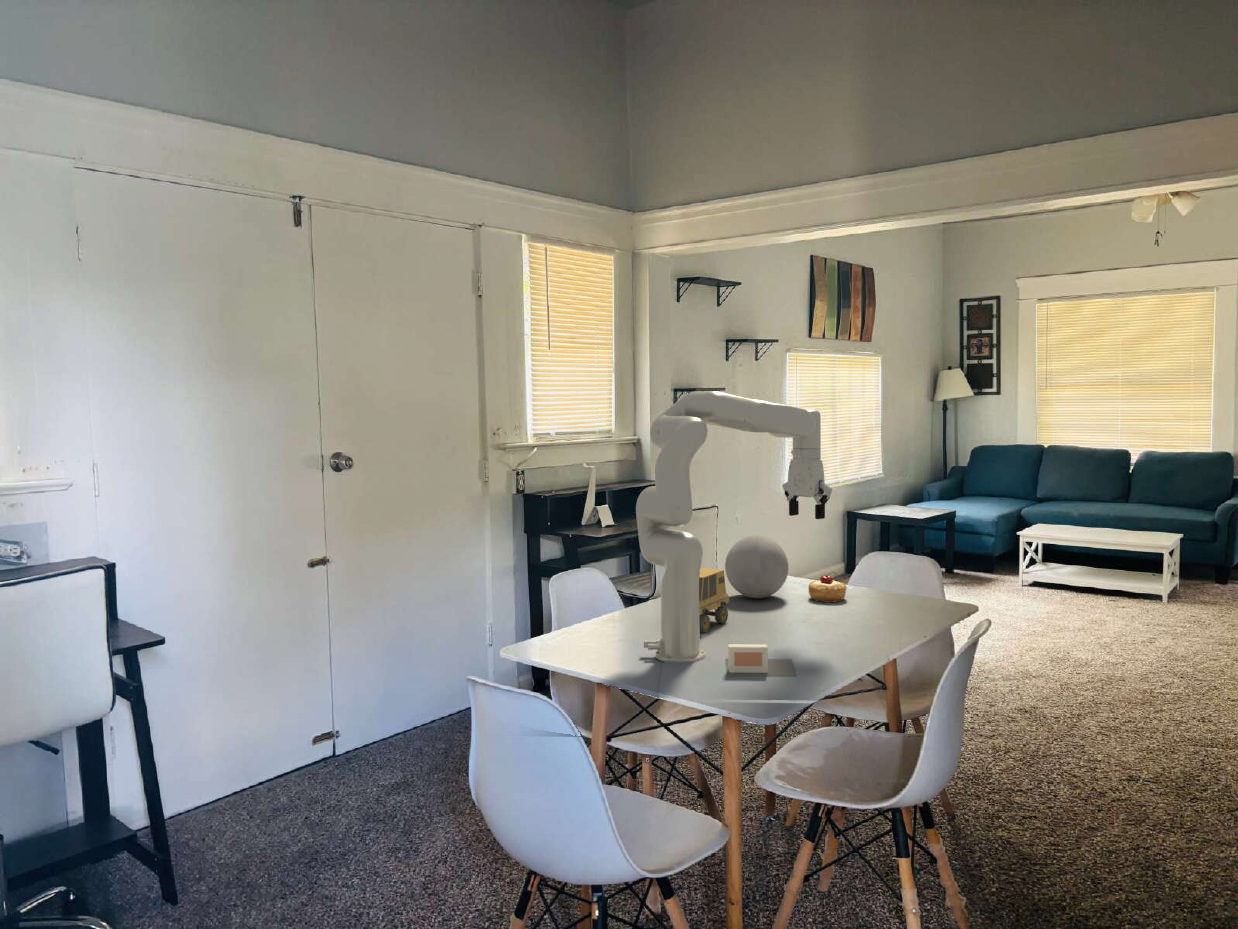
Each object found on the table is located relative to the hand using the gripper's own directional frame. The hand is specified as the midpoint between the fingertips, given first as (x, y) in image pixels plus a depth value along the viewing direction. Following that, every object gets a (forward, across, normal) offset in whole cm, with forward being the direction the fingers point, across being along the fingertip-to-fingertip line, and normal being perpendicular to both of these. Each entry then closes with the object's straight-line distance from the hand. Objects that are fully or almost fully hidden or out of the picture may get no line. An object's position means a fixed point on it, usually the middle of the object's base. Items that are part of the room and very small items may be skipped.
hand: (806, 516), depth 255 cm
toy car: (+32, -21, -20) cm, 43 cm away
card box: (+31, +20, -41) cm, 55 cm away
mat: (+31, +20, -37) cm, 52 cm away
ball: (+31, -37, +16) cm, 51 cm away
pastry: (+32, -21, +32) cm, 50 cm away
